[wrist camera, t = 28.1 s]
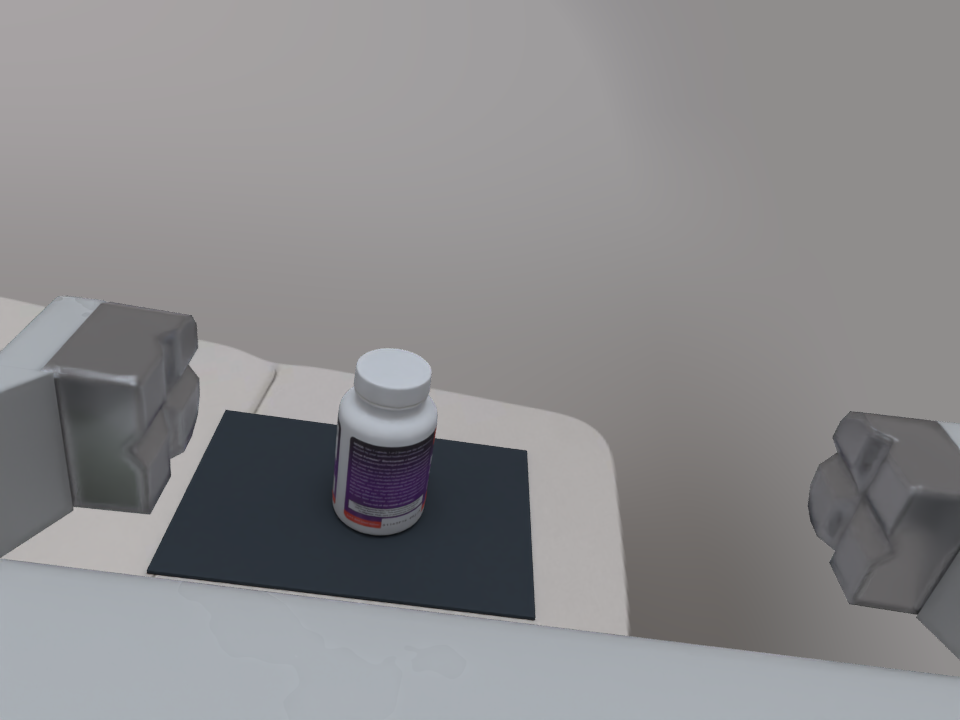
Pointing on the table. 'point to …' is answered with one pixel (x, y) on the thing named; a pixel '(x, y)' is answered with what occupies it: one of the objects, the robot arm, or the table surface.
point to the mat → (337, 547)
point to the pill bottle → (384, 443)
